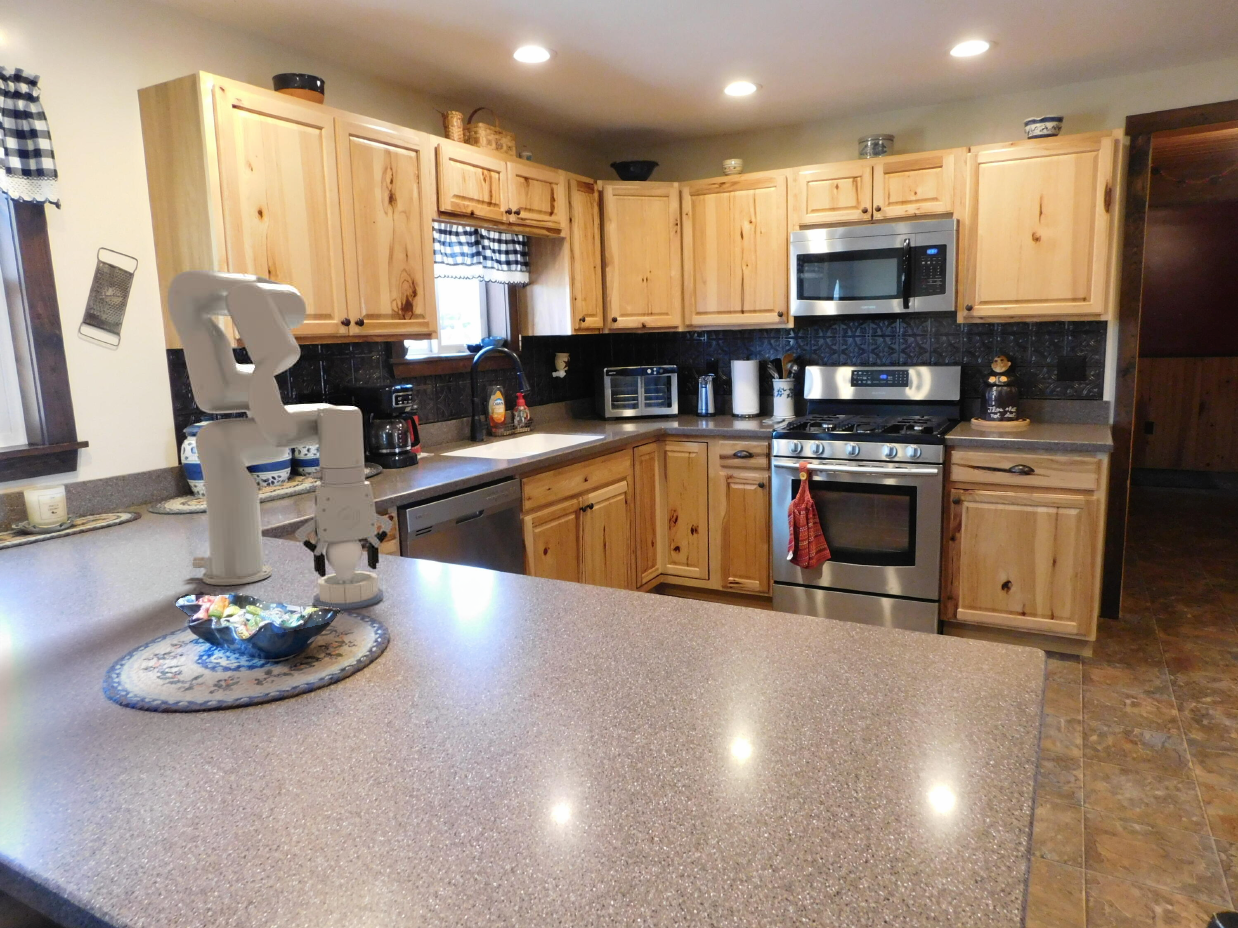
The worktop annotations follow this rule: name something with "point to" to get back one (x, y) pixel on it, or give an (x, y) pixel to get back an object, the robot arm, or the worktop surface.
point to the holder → (348, 592)
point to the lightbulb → (344, 559)
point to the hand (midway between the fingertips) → (347, 571)
